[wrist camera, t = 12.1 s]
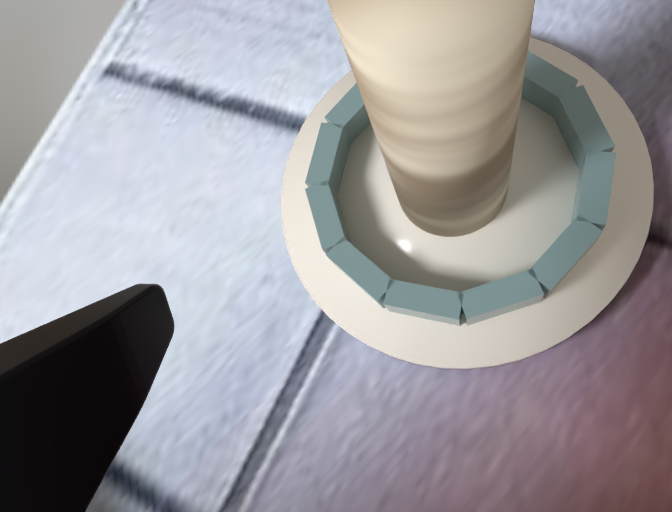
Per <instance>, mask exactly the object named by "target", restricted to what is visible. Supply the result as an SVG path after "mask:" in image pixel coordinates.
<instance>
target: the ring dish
mask: <svg viewBox="0 0 672 512" xmlns="http://www.w3.org/2000/svg"><path fill="white" fill-rule="evenodd" d="M653 198H654V181H653V173H652V164H651V159H650V156H649V152H648V149H647V145H646V142H645V139H644V136H643V134H642V132H641V130H640V128H639V125H638V123H637V121H636V119H635V117H634V115H633V114H632V112H631V111H630V109H629V108H628V106H627V105H626V103H625V102H624V100H623V99H622V97H621V96H620V95H619V94H618V93H617V92H616V91H615V89H614V88H613V87H612V86H611V85H610V84H609V83H608V81H606V80H605V79H604V78H603V77H602V76H601V75H599V74H598V73H597V72H596V71H595V70H594V69H593V68H591V67H590V66H589V65H587V64H586V63H584V62H583V61H581V60H580V59H578V58H577V57H575V56H573V55H572V54H570V53H568V52H566V51H564V50H562V49H560V48H558V47H556V46H554V45H552V44H549V43H547V42H544V41H541V40H538V39H535V38H532V37H530V38H529V45H528V52H527V59H526V66H525V73H524V80H523V87H522V94H521V101H520V108H519V115H518V122H517V129H516V136H515V143H514V150H513V156H512V163H511V170H510V177H509V184H508V191H507V196H506V200H505V202H504V204H503V206H502V208H501V210H500V211H499V213H498V214H497V215H496V217H495V218H494V219H493V220H492V221H491V222H490V223H488V224H487V225H486V226H484V227H483V228H481V229H479V230H477V231H475V232H473V233H470V234H467V235H463V236H457V237H444V236H437V235H433V234H430V233H428V232H425V231H424V230H422V229H420V228H418V227H417V226H416V225H414V224H413V223H412V222H411V221H410V220H409V219H408V218H407V216H406V215H405V213H404V212H403V210H402V208H401V206H400V203H399V200H398V198H397V195H396V192H395V189H394V186H393V184H392V181H391V178H390V175H389V172H388V169H387V167H386V164H385V161H384V158H383V155H382V153H381V150H380V147H379V144H378V141H377V139H376V136H375V133H374V130H373V127H372V124H371V122H370V119H369V116H368V113H367V110H366V108H365V105H364V102H363V99H362V96H361V94H360V91H359V88H358V85H357V82H356V79H355V77H354V74H353V71H350V72H349V73H348V74H346V75H345V76H344V77H342V78H341V79H340V80H339V81H338V82H337V83H336V84H335V85H334V86H333V87H332V88H331V89H330V90H329V91H328V92H327V93H326V94H325V95H324V96H323V98H322V99H321V100H320V101H319V102H318V104H317V105H316V106H315V107H314V109H313V110H312V112H311V113H310V115H309V116H308V118H307V119H306V121H305V122H304V124H303V125H302V127H301V130H300V132H299V134H298V136H297V138H296V140H295V142H294V144H293V147H292V149H291V152H290V155H289V158H288V161H287V164H286V169H285V173H284V178H283V183H282V195H281V215H282V227H283V232H284V237H285V242H286V246H287V249H288V252H289V255H290V258H291V261H292V264H293V266H294V268H295V270H296V272H297V274H298V276H299V278H300V280H301V282H302V284H303V285H304V287H305V288H306V289H307V291H308V292H309V294H310V295H311V297H312V298H313V300H314V301H315V302H316V303H317V304H318V305H319V307H320V308H321V309H322V310H323V311H324V312H325V313H326V314H327V315H328V316H329V318H331V319H332V320H333V321H334V322H335V323H337V324H338V325H339V326H340V327H341V328H343V329H344V330H345V331H346V332H347V333H349V334H350V335H352V336H354V337H355V338H357V339H358V340H360V341H362V342H363V343H365V344H366V345H368V346H370V347H371V348H373V349H375V350H377V351H380V352H382V353H384V354H386V355H388V356H391V357H393V358H396V359H399V360H402V361H406V362H409V363H412V364H416V365H420V366H426V367H432V368H438V369H455V370H471V369H481V368H491V367H497V366H501V365H505V364H509V363H514V362H518V361H521V360H523V359H526V358H529V357H531V356H534V355H537V354H539V353H542V352H544V351H546V350H548V349H550V348H551V347H553V346H555V345H557V344H559V343H561V342H563V341H564V340H566V339H568V338H569V337H570V336H572V335H573V334H574V333H576V332H577V331H578V330H580V329H581V328H582V327H584V326H585V325H587V324H588V323H589V322H590V321H591V320H593V319H594V318H595V317H596V316H597V315H598V314H599V313H600V312H601V311H602V310H603V309H604V308H605V307H606V306H607V305H608V304H609V303H610V302H611V301H612V299H613V298H614V297H615V296H616V294H617V293H618V292H619V290H620V289H621V288H622V286H623V285H624V284H625V282H626V281H627V280H628V278H629V276H630V274H631V272H632V271H633V269H634V267H635V265H636V263H637V261H638V260H639V258H640V255H641V252H642V250H643V247H644V244H645V242H646V239H647V236H648V233H649V228H650V223H651V218H652V213H653Z"/></svg>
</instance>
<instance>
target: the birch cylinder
mask: <svg viewBox="0 0 672 512" xmlns="http://www.w3.org/2000/svg"><path fill="white" fill-rule="evenodd" d="M327 1H328V3H329V6H330V9H331V12H332V15H333V18H334V20H335V23H336V26H337V29H338V32H339V34H340V37H341V40H342V43H343V46H344V48H345V51H346V54H347V57H348V60H349V63H350V65H351V68H352V71H353V74H354V77H355V79H356V82H357V85H358V88H359V91H360V94H361V96H362V99H363V102H364V105H365V108H366V110H367V113H368V116H369V119H370V122H371V124H372V127H373V130H374V133H375V136H376V139H377V141H378V144H379V147H380V150H381V153H382V155H383V158H384V161H385V164H386V167H387V169H388V172H389V175H390V178H391V181H392V184H393V186H394V189H395V192H396V195H397V198H398V200H399V203H400V206H401V208H402V210H403V212H404V213H405V215H406V216H407V218H408V219H409V220H410V221H411V222H412V223H413V224H414V225H416V226H417V227H418V228H420V229H422V230H424V231H425V232H428V233H430V234H433V235H437V236H444V237H457V236H463V235H467V234H470V233H473V232H475V231H477V230H479V229H481V228H483V227H484V226H486V225H487V224H488V223H490V222H491V221H492V220H493V219H494V218H495V217H496V215H497V214H498V213H499V211H500V210H501V208H502V206H503V204H504V202H505V200H506V196H507V191H508V184H509V177H510V170H511V163H512V156H513V150H514V143H515V136H516V129H517V122H518V115H519V108H520V101H521V94H522V87H523V80H524V73H525V66H526V59H527V52H528V45H529V38H530V31H531V24H532V17H533V10H534V3H535V0H327Z"/></svg>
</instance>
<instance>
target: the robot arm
mask: <svg viewBox="0 0 672 512" xmlns="http://www.w3.org/2000/svg"><path fill="white" fill-rule="evenodd" d="M173 333H174V320H173V317H172V314H171V311H170V308H169V305H168V301H167V298H166V295H165V292H164V290H163V288H162V287H161V286H159V285H158V284H136V285H134V286H132V287H129V288H127V289H125V290H122V291H120V292H118V293H115V294H113V295H111V296H109V297H106V298H104V299H102V300H99V301H97V302H95V303H93V304H90V305H88V306H86V307H83V308H81V309H79V310H76V311H74V312H72V313H70V314H67V315H65V316H63V317H60V318H58V319H56V320H54V321H51V322H49V323H47V324H44V325H42V326H40V327H38V328H35V329H33V330H31V331H28V332H26V333H24V334H21V335H19V336H17V337H15V338H12V339H10V340H8V341H5V342H3V343H1V344H0V512H85V511H86V509H87V507H88V505H89V504H90V502H91V500H92V498H93V496H94V494H95V493H96V491H97V489H98V487H99V485H100V484H101V482H102V480H103V478H104V476H105V474H106V473H107V471H108V469H109V467H110V465H111V463H112V462H113V460H114V458H115V456H116V454H117V452H118V451H119V449H120V447H121V445H122V443H123V442H124V440H125V438H126V436H127V434H128V432H129V431H130V429H131V427H132V425H133V423H134V421H135V420H136V418H137V416H138V414H139V412H140V410H141V408H142V406H143V404H144V402H145V400H146V398H147V395H148V393H149V391H150V389H151V386H152V384H153V381H154V379H155V377H156V374H157V372H158V370H159V367H160V365H161V362H162V360H163V358H164V355H165V353H166V351H167V348H168V346H169V343H170V341H171V339H172V336H173Z"/></svg>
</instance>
